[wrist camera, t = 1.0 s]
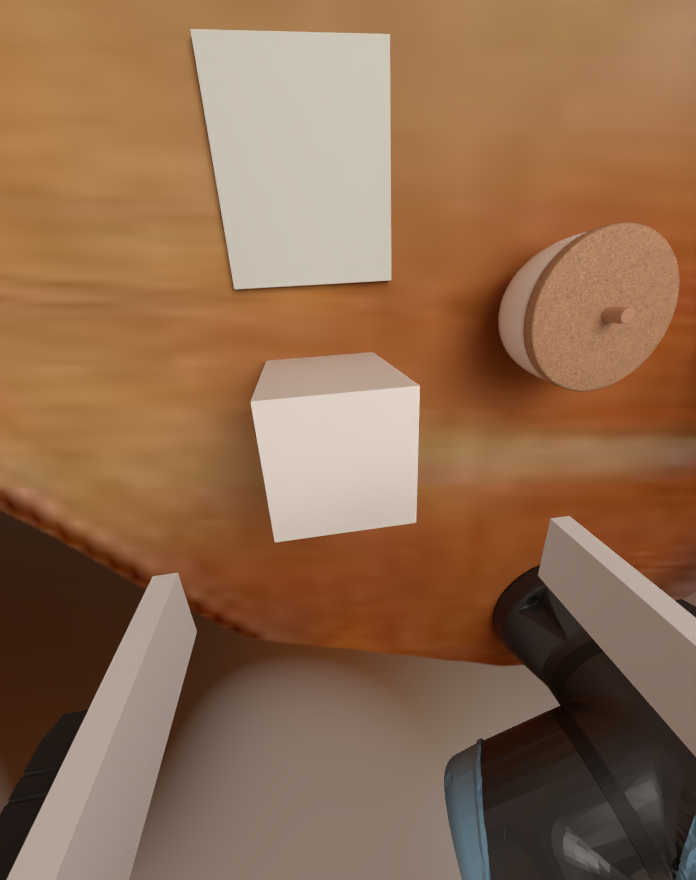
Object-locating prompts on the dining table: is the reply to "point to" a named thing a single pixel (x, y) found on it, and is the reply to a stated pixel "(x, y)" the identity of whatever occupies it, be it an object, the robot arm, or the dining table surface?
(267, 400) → the white block
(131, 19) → the dining table surface
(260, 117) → the mat
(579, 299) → the lidded jar
